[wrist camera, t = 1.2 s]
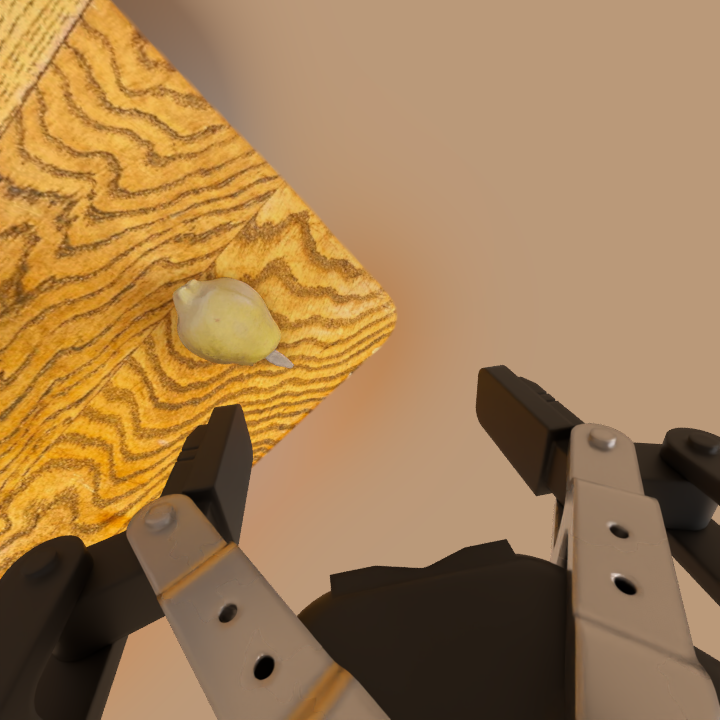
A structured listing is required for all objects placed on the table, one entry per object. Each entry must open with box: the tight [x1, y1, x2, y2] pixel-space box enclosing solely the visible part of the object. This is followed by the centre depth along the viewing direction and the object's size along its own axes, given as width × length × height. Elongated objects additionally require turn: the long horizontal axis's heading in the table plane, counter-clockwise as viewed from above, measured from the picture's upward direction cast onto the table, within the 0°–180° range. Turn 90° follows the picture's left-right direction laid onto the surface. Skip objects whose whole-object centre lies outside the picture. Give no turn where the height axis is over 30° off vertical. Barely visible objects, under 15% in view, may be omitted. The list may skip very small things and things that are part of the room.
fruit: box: [173, 277, 294, 368], centre depth 25 cm, size 6×6×10 cm
